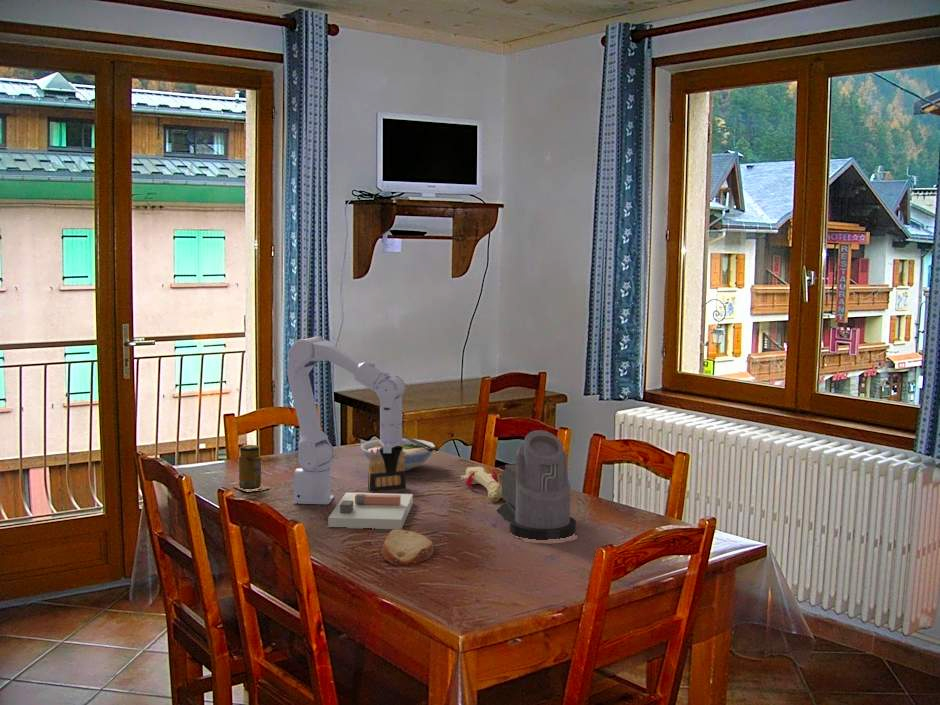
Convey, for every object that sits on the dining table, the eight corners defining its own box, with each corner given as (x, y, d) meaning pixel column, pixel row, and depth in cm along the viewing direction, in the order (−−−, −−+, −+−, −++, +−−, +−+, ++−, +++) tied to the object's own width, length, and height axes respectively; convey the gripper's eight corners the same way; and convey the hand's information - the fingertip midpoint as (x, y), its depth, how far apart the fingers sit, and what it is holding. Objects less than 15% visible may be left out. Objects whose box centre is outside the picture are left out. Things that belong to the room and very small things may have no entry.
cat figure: (518, 505, 273) (486, 477, 296) (519, 475, 271) (488, 448, 294) (483, 508, 270) (454, 479, 293) (484, 477, 268) (455, 450, 291)
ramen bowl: (349, 464, 314) (349, 438, 313) (417, 457, 323) (417, 432, 322) (376, 482, 291) (376, 454, 290) (448, 475, 301) (448, 448, 300)
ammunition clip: (369, 492, 280) (369, 449, 279) (367, 490, 282) (367, 448, 281) (405, 488, 285) (405, 446, 283) (403, 486, 286) (403, 445, 285)
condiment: (255, 484, 288) (255, 443, 287) (270, 490, 282) (269, 448, 280) (232, 487, 284) (231, 446, 282) (246, 494, 277) (245, 451, 276)
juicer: (587, 541, 237) (589, 440, 234) (522, 546, 233) (524, 443, 230) (545, 508, 266) (547, 417, 263) (487, 511, 262) (488, 419, 259)
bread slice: (402, 535, 242) (402, 520, 241) (458, 551, 230) (459, 535, 230) (347, 553, 228) (347, 537, 228) (404, 570, 217) (404, 554, 216)
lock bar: (354, 504, 257) (354, 496, 257) (356, 501, 260) (356, 493, 260) (399, 505, 256) (399, 497, 256) (400, 502, 259) (400, 494, 259)
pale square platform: (328, 527, 246) (328, 508, 246) (346, 501, 270) (346, 484, 269) (401, 529, 245) (401, 510, 245) (412, 503, 269) (412, 486, 268)
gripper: (402, 429, 253) (402, 481, 255) (409, 418, 268) (409, 468, 269) (375, 428, 254) (375, 481, 255) (383, 418, 268) (383, 467, 270)
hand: (391, 474), depth 262 cm, fingers closed
